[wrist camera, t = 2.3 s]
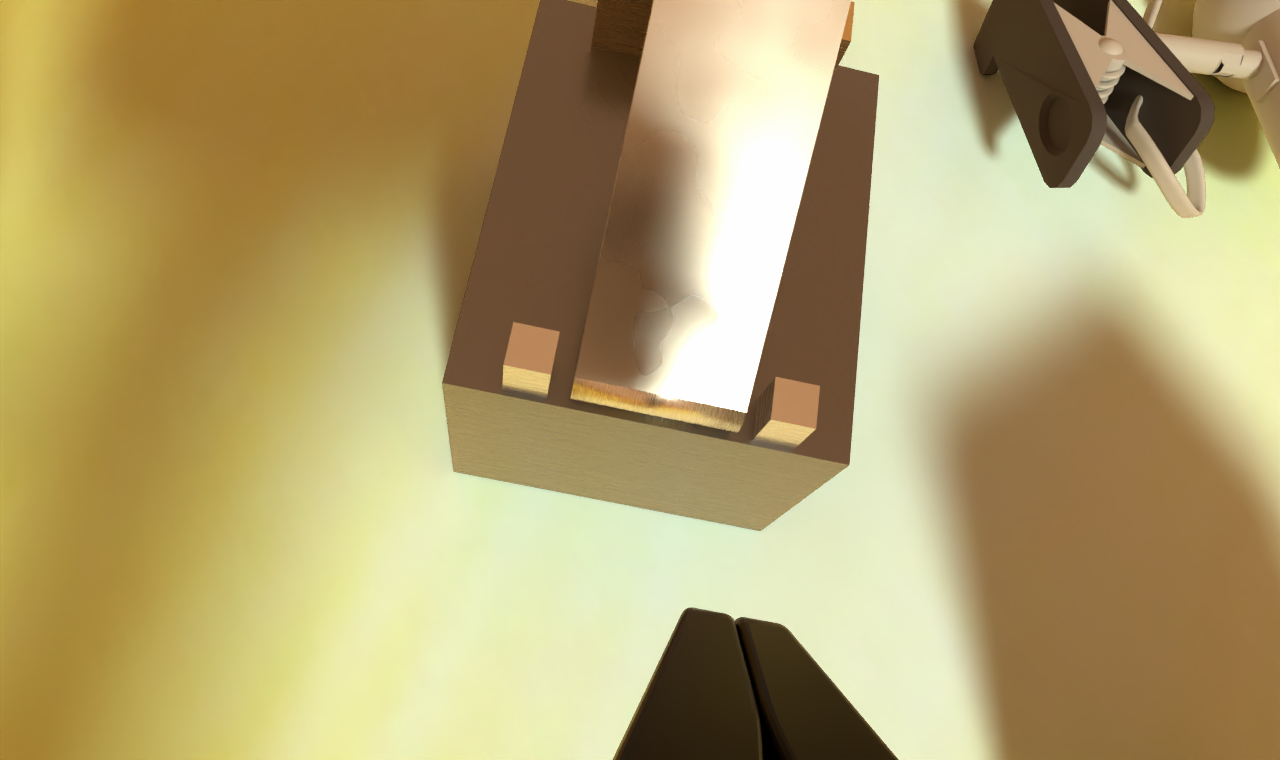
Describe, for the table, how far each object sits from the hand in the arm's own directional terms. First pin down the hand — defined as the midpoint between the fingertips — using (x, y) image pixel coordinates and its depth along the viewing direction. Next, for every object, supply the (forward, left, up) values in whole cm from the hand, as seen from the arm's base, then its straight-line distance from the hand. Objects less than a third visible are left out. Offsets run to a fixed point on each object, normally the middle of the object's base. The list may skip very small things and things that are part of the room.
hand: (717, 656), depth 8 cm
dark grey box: (+7, +6, -14) cm, 17 cm away
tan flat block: (+6, +5, -6) cm, 10 cm away
